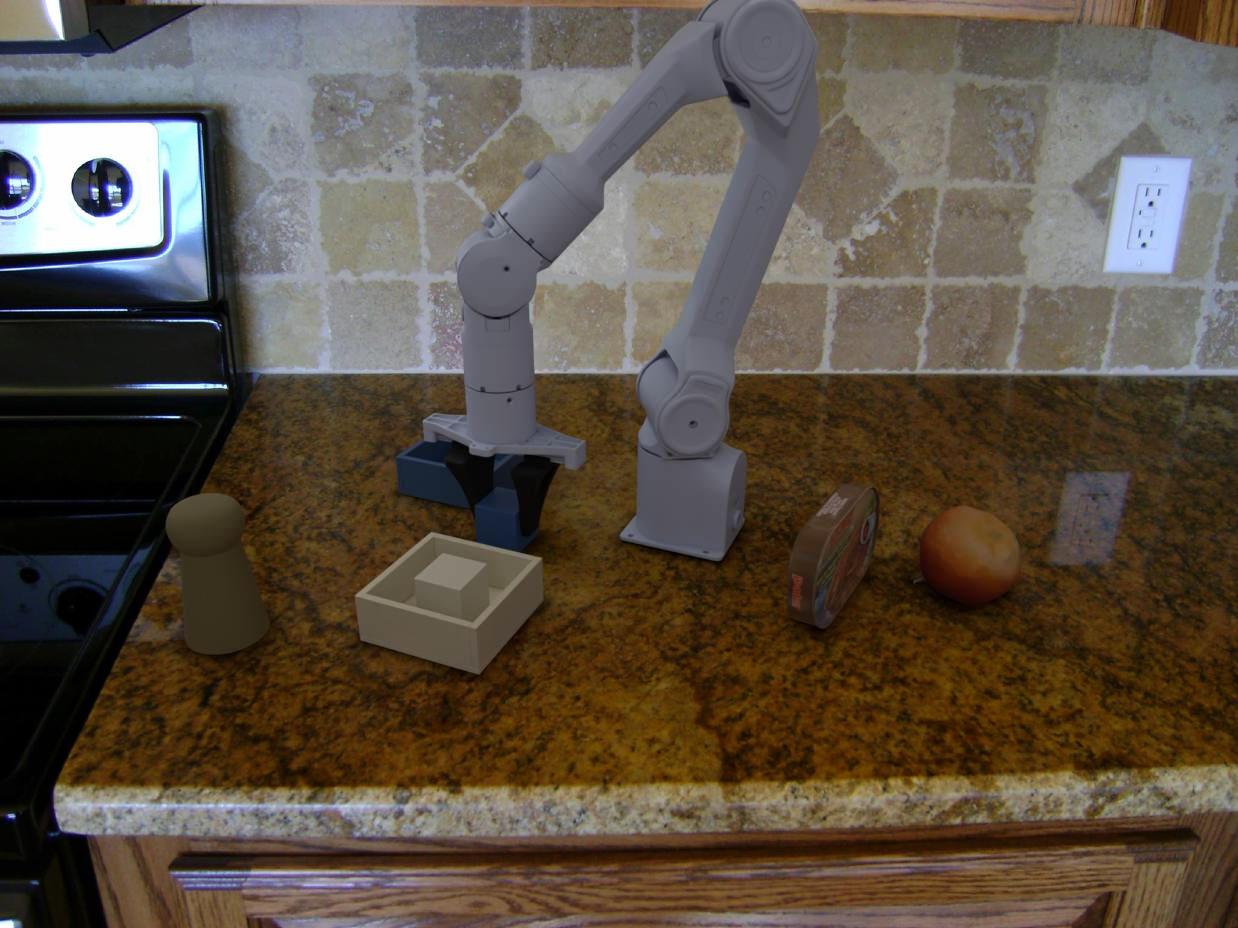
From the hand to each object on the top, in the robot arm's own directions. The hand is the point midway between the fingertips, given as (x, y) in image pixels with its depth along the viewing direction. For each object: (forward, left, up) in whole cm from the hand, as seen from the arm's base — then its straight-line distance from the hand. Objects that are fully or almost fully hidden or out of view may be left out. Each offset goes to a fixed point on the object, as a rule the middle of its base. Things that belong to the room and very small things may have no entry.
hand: (507, 525), depth 82 cm
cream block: (-2, +12, -1) cm, 12 cm away
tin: (-28, -3, -2) cm, 28 cm away
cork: (+13, +20, -2) cm, 24 cm away
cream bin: (-2, +12, -2) cm, 12 cm away
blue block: (0, 0, -1) cm, 1 cm away
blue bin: (+9, -9, -2) cm, 13 cm away
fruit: (-38, -8, -2) cm, 39 cm away
